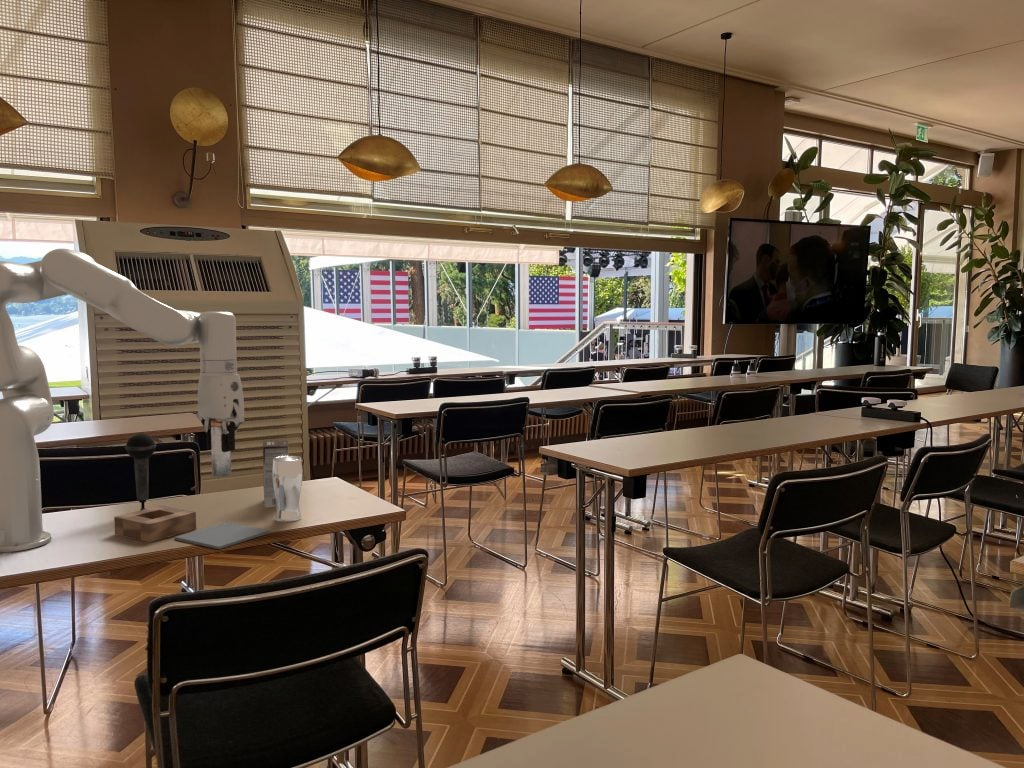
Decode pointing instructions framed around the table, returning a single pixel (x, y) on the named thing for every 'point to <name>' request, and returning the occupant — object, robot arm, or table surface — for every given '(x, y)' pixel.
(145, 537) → the eye block
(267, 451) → the coffee box
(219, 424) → the steel peg
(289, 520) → the beer glass
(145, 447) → the microphone
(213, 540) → the slate mat
